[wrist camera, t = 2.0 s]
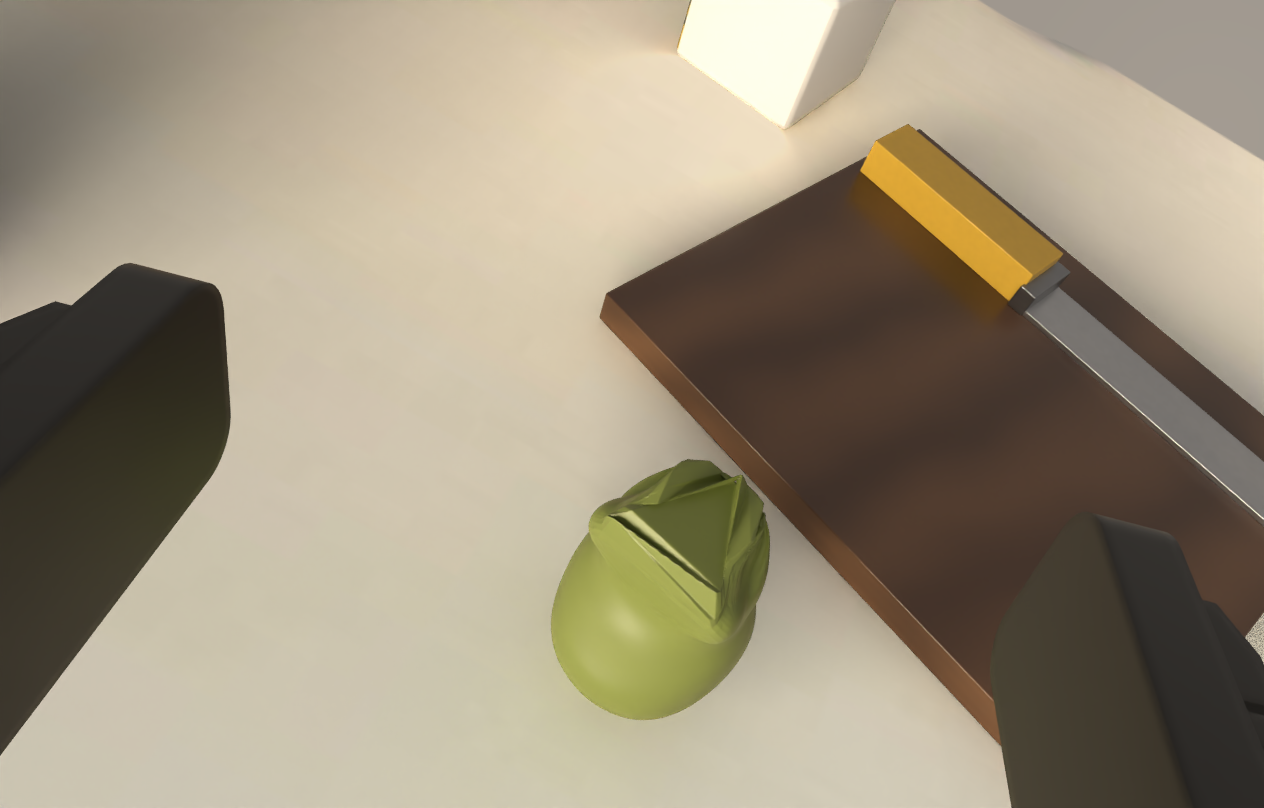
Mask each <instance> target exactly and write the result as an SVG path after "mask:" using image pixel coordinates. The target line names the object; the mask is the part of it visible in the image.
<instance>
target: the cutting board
mask: <svg viewBox="0 0 1264 808" xmlns="http://www.w3.org/2000/svg"><path fill="white" fill-rule="evenodd" d="M917 132H919V133H920V134H921V135H922V136H923V137H924V138H926V139H927V140H928V141H929V142H930V143H932V144H933V145H934V146H935V147H936V148H938V149H939V150H940V151H941V152H942V153H944V154H945V155H946V156H947V157H948V158H950V159H951V160H952V161H953V162H954V163H956V164H957V165H958V166H959V167H960V168H962V169H963V170H964V171H965V172H966V173H968V174H969V175H970V176H971V177H972V178H974V179H975V180H976V181H977V182H978V183H980V184H981V185H982V186H983V187H984V188H986V189H987V190H988V191H989V192H990V193H991V194H993V195H994V196H995V197H996V198H997V199H999V200H1000V201H1001V202H1002V203H1003V204H1005V205H1006V206H1007V207H1008V208H1009V209H1011V210H1012V211H1013V212H1014V213H1015V214H1017V215H1018V216H1019V217H1020V218H1021V219H1023V220H1024V221H1025V222H1026V223H1027V224H1029V225H1030V226H1031V227H1032V228H1033V229H1035V230H1036V231H1037V232H1038V233H1039V234H1041V235H1042V236H1043V237H1044V238H1045V239H1047V240H1048V241H1049V242H1050V243H1051V244H1053V245H1054V246H1055V247H1056V248H1057V249H1058V250H1060V251H1061V252H1062V253H1063V255H1062V256H1061V258H1060V259H1059V260H1058V262H1059V263H1060V264H1062V265H1063V266H1064V267H1065V268H1066V269H1068V270H1069V271H1070V274H1069V275H1068V277H1067V278H1066V279H1065V280H1064V281H1063V282H1062V284H1061V285H1060V286H1059V288H1060V289H1061V290H1063V291H1064V292H1065V293H1066V294H1067V295H1068V296H1070V297H1071V298H1072V299H1073V300H1074V301H1075V302H1077V303H1078V304H1079V305H1080V306H1081V307H1082V308H1084V309H1085V310H1086V311H1087V312H1088V313H1090V314H1091V315H1092V316H1093V317H1094V318H1095V319H1097V320H1098V321H1099V322H1100V323H1101V324H1102V325H1104V326H1105V327H1106V328H1107V329H1108V330H1109V331H1111V332H1112V333H1113V334H1114V335H1115V336H1117V337H1118V338H1119V339H1120V340H1121V341H1122V342H1124V343H1125V344H1126V345H1127V346H1128V347H1129V348H1131V349H1132V350H1133V351H1134V352H1135V353H1137V354H1138V355H1139V356H1140V357H1141V358H1142V359H1144V360H1145V361H1146V362H1147V363H1148V364H1149V365H1151V366H1152V367H1153V368H1154V369H1155V370H1156V371H1158V372H1159V373H1160V374H1161V375H1162V376H1164V377H1165V378H1166V379H1167V380H1168V381H1169V382H1171V383H1172V384H1173V385H1174V386H1175V387H1176V388H1178V389H1179V390H1180V391H1181V392H1182V393H1183V394H1185V395H1186V396H1187V397H1188V398H1189V399H1191V400H1192V401H1193V402H1194V403H1195V404H1196V405H1198V406H1199V407H1200V408H1201V409H1202V410H1203V411H1205V412H1206V413H1207V414H1208V415H1209V416H1210V417H1212V418H1213V419H1214V420H1215V421H1216V422H1218V423H1219V424H1220V425H1221V426H1222V427H1223V428H1225V429H1226V430H1227V431H1228V432H1229V433H1230V434H1232V435H1233V436H1234V437H1235V438H1236V439H1238V440H1239V441H1240V442H1241V443H1242V444H1243V445H1245V446H1246V447H1247V448H1248V449H1249V450H1250V451H1252V452H1253V453H1254V454H1255V455H1256V456H1257V457H1259V458H1260V459H1261V460H1262V461H1263V462H1264V416H1263V415H1262V414H1261V413H1260V412H1258V411H1257V410H1256V409H1255V408H1254V407H1252V406H1251V405H1250V404H1249V403H1248V402H1246V401H1245V400H1244V399H1243V398H1242V397H1241V396H1239V395H1238V394H1237V393H1236V392H1235V391H1233V390H1232V389H1231V388H1230V387H1229V386H1227V385H1226V384H1225V383H1224V382H1223V381H1221V380H1220V379H1219V378H1218V377H1217V376H1215V375H1214V374H1213V373H1212V372H1211V371H1209V370H1208V369H1207V368H1206V367H1205V366H1203V365H1202V364H1201V363H1200V362H1199V361H1197V360H1196V359H1195V358H1194V357H1193V356H1191V355H1190V354H1189V353H1188V352H1187V351H1185V350H1184V349H1183V348H1182V347H1181V346H1179V345H1178V344H1177V343H1176V342H1175V341H1173V340H1172V339H1171V338H1170V337H1169V336H1167V335H1166V334H1165V333H1164V332H1163V331H1161V330H1160V329H1159V328H1158V327H1157V326H1155V325H1154V324H1153V323H1152V322H1151V321H1149V320H1148V319H1147V318H1146V317H1145V316H1143V315H1142V314H1141V313H1140V312H1139V311H1137V310H1136V309H1135V308H1134V307H1133V306H1131V305H1130V304H1129V303H1128V302H1127V301H1125V300H1124V299H1123V298H1122V297H1121V296H1119V295H1118V294H1117V293H1116V292H1115V291H1113V290H1112V289H1111V288H1110V287H1109V286H1107V285H1106V284H1105V283H1104V282H1103V281H1101V280H1100V279H1099V278H1098V277H1097V276H1095V275H1094V274H1093V273H1092V272H1091V271H1089V270H1088V269H1087V268H1086V267H1085V266H1083V265H1082V264H1081V263H1080V262H1079V261H1077V260H1076V259H1075V258H1074V257H1073V256H1071V255H1070V254H1069V253H1068V252H1067V251H1065V250H1064V249H1063V248H1062V247H1061V246H1059V245H1058V244H1057V243H1056V242H1055V241H1053V240H1052V239H1051V238H1050V237H1049V236H1047V235H1046V234H1045V233H1044V232H1043V231H1041V230H1040V229H1039V228H1038V227H1037V226H1035V225H1034V224H1033V223H1032V222H1031V221H1029V220H1028V219H1027V218H1026V217H1025V216H1023V215H1022V214H1021V213H1020V212H1019V211H1017V210H1016V209H1015V208H1014V207H1013V206H1011V205H1010V204H1009V203H1008V202H1007V201H1005V200H1004V199H1003V198H1002V197H1001V196H999V195H998V194H997V193H996V192H995V191H993V190H992V189H991V188H990V187H989V186H987V185H986V184H985V183H984V182H983V181H981V180H980V179H979V178H978V177H977V176H975V175H974V174H973V173H972V172H971V171H969V170H968V169H967V168H966V167H965V166H963V165H962V164H961V163H960V162H959V161H957V160H956V159H955V158H954V157H953V156H951V155H950V154H949V153H948V152H947V151H945V150H944V149H943V148H942V147H941V146H939V145H938V144H937V143H936V142H935V141H933V140H932V139H931V138H930V137H929V136H928V135H926V134H925V133H924V132H923V131H922V130H920V129H919V130H917ZM866 158H867V157H865V158H863V159H861V160H859V161H858V162H856V163H854V164H852V165H850V166H848V167H846V168H844V169H842V170H840V171H839V172H837V173H835V174H833V175H831V176H829V177H827V178H825V179H823V180H821V181H819V182H818V183H816V184H814V185H812V186H810V187H808V188H806V189H804V190H802V191H800V192H798V193H797V194H795V195H793V196H791V197H789V198H787V199H785V200H783V201H781V202H779V203H778V204H776V205H774V206H772V207H770V208H768V209H766V210H764V211H762V212H760V213H758V214H757V215H755V216H753V217H751V218H749V219H747V220H745V221H743V222H741V223H739V224H737V225H736V226H734V227H732V228H730V229H728V230H726V231H724V232H722V233H720V234H718V235H716V236H715V237H713V238H711V239H709V240H707V241H705V242H703V243H701V244H699V245H697V246H696V247H694V248H692V249H690V250H688V251H686V252H684V253H682V254H680V255H678V256H676V257H675V258H673V259H671V260H669V261H667V262H665V263H663V264H661V265H659V266H657V267H655V268H654V269H652V270H650V271H648V272H646V273H644V274H642V275H640V276H638V277H636V278H634V279H633V280H631V281H629V282H627V283H625V284H623V285H621V286H619V287H617V288H615V289H614V290H612V291H610V292H608V293H607V294H606V296H605V300H604V303H603V307H602V310H601V314H600V318H601V319H602V321H603V322H604V323H605V324H606V325H607V326H608V327H609V328H610V329H611V330H612V331H613V332H614V333H615V334H616V335H617V337H618V338H619V339H620V340H621V341H622V342H623V343H624V344H625V345H626V346H627V347H628V348H629V349H630V350H631V351H632V353H633V354H634V355H635V356H636V357H637V358H638V359H639V360H640V361H641V362H642V363H643V364H644V365H645V366H646V368H647V369H648V370H649V371H650V372H651V373H652V374H653V375H654V376H655V377H656V378H657V379H658V380H659V381H660V382H661V384H662V385H663V386H664V387H665V388H666V389H667V390H668V391H669V392H670V393H671V394H672V395H673V396H674V397H675V398H676V400H677V401H678V402H679V403H680V404H681V405H682V406H683V407H684V408H685V409H686V410H687V411H688V412H689V413H690V415H691V416H692V417H693V418H694V419H695V420H696V421H697V422H698V423H699V424H700V425H701V426H702V427H703V428H704V429H705V431H706V432H707V433H708V434H709V435H710V436H711V437H712V438H713V439H714V440H715V441H716V442H717V443H718V444H719V445H720V447H721V448H722V449H723V450H724V451H725V452H726V453H727V454H728V455H729V456H730V457H731V458H732V459H733V460H734V461H735V463H736V464H737V465H738V466H739V467H740V468H741V469H742V470H743V471H744V472H745V473H746V474H747V475H748V476H749V478H750V479H751V480H752V481H753V482H754V483H755V484H756V485H757V486H758V487H759V488H760V489H761V490H762V491H763V492H764V494H765V495H766V496H767V497H768V498H769V499H770V500H771V501H772V502H773V503H774V504H775V505H776V506H777V507H778V508H779V510H780V511H781V512H782V513H783V514H784V515H785V516H786V517H787V518H788V519H789V520H790V521H791V522H792V523H793V525H794V526H795V527H796V528H797V529H798V530H799V531H800V532H801V533H802V534H803V535H804V536H805V537H806V538H807V539H808V541H809V542H810V543H811V544H812V545H813V546H814V547H815V548H816V549H817V550H818V551H819V552H820V553H821V554H822V555H823V557H824V558H825V559H826V560H827V561H828V562H829V563H830V564H831V565H832V566H833V567H834V568H835V569H836V570H837V571H838V573H839V574H840V575H841V576H842V577H843V578H844V579H845V580H846V581H847V582H848V583H849V584H850V585H851V586H852V588H853V589H854V590H855V591H856V592H857V593H858V594H859V595H860V596H861V597H862V598H863V599H864V600H865V601H866V602H867V604H868V605H869V606H870V607H871V608H872V609H873V610H874V611H875V612H876V613H877V614H878V615H879V616H880V617H881V618H882V620H883V621H884V622H885V623H886V624H887V625H888V626H889V627H890V628H891V629H892V630H893V631H894V632H895V633H896V635H897V636H898V637H899V638H900V639H901V640H902V641H903V642H904V643H905V644H906V645H907V646H908V647H909V648H910V649H911V651H912V652H913V653H914V654H915V655H916V656H917V657H918V658H919V659H920V660H921V661H922V662H923V663H924V664H925V665H926V667H927V668H928V669H929V670H930V671H931V672H932V673H933V674H934V675H935V676H936V677H937V678H938V679H939V680H940V681H941V683H942V684H943V685H944V686H945V687H946V688H947V689H948V690H949V691H950V692H951V693H952V694H953V695H954V696H955V698H956V699H957V700H958V701H959V702H960V703H961V704H962V705H963V706H964V707H965V708H966V709H967V710H968V711H969V712H970V714H971V715H972V716H973V717H974V718H975V719H976V720H977V721H978V722H979V723H980V724H981V725H982V726H983V727H984V728H985V730H986V731H987V732H988V733H989V734H990V735H991V736H992V737H993V738H994V739H995V740H996V741H997V742H998V743H999V745H1000V746H1001V741H1000V735H999V729H998V723H997V717H996V711H995V705H994V699H993V693H992V687H991V679H990V662H991V653H992V648H993V643H994V639H995V635H996V632H997V630H998V627H999V625H1000V622H1001V620H1002V618H1003V617H1004V615H1005V613H1006V612H1007V610H1008V609H1009V607H1010V606H1011V604H1012V603H1013V601H1014V600H1015V598H1016V597H1017V595H1018V594H1019V592H1020V591H1021V589H1022V588H1023V586H1024V585H1025V583H1026V582H1027V580H1028V579H1029V577H1030V576H1031V574H1032V573H1033V571H1034V570H1035V568H1036V567H1037V565H1038V564H1039V562H1040V561H1041V559H1042V558H1043V556H1044V555H1045V554H1046V552H1047V551H1048V549H1049V548H1050V546H1051V545H1052V543H1053V542H1054V540H1055V539H1056V537H1057V536H1058V534H1059V533H1060V531H1061V530H1062V528H1063V527H1064V526H1065V524H1066V523H1067V522H1068V521H1069V520H1070V519H1071V518H1072V517H1073V516H1075V515H1076V514H1078V513H1081V512H1090V513H1094V514H1098V515H1102V516H1106V517H1109V518H1113V519H1117V520H1121V521H1125V522H1129V523H1133V524H1137V525H1141V526H1144V527H1148V528H1152V529H1156V530H1160V531H1164V532H1167V533H1169V534H1171V535H1172V536H1173V537H1174V538H1175V539H1176V540H1177V541H1178V543H1179V545H1180V547H1181V549H1182V552H1183V554H1184V556H1185V559H1186V561H1187V564H1188V566H1189V569H1190V571H1191V574H1192V576H1193V578H1194V581H1195V583H1196V586H1197V588H1198V591H1199V593H1200V596H1201V598H1202V600H1205V601H1209V602H1213V603H1216V604H1217V605H1218V606H1219V607H1220V608H1221V610H1222V611H1223V612H1224V613H1225V614H1226V616H1227V617H1228V618H1229V619H1230V620H1231V622H1232V623H1233V624H1234V625H1235V626H1236V628H1237V629H1238V630H1239V631H1240V632H1241V634H1242V635H1243V636H1244V637H1245V636H1246V635H1247V634H1248V633H1249V631H1250V630H1251V629H1252V627H1253V626H1254V625H1255V623H1256V622H1257V621H1258V619H1259V618H1260V617H1261V615H1262V614H1263V613H1264V527H1263V526H1262V525H1261V524H1260V523H1259V522H1258V521H1257V520H1255V519H1254V518H1253V517H1252V516H1251V515H1250V514H1249V513H1247V512H1246V511H1245V510H1244V509H1243V508H1242V507H1241V506H1239V505H1238V504H1237V503H1236V502H1235V501H1234V500H1233V499H1232V498H1230V497H1229V496H1228V495H1227V494H1226V493H1225V492H1224V491H1222V490H1221V489H1220V488H1219V487H1218V486H1217V485H1216V484H1214V483H1213V482H1212V481H1211V480H1210V479H1209V478H1208V477H1206V476H1205V475H1204V474H1203V473H1202V472H1201V471H1200V470H1198V469H1197V468H1196V467H1195V466H1194V465H1193V464H1192V463H1190V462H1189V461H1188V460H1187V459H1186V458H1185V457H1184V456H1182V455H1181V454H1180V453H1179V452H1178V451H1177V450H1176V449H1174V448H1173V447H1172V446H1171V445H1170V444H1169V443H1168V442H1166V441H1165V440H1164V439H1163V438H1162V437H1161V436H1160V435H1158V434H1157V433H1156V432H1155V431H1154V430H1153V429H1152V428H1150V427H1149V426H1148V425H1147V424H1146V423H1145V422H1144V421H1142V420H1141V419H1140V418H1139V417H1138V416H1137V415H1136V414H1135V413H1133V412H1132V411H1131V410H1130V409H1129V408H1128V407H1127V406H1125V405H1124V404H1123V403H1122V402H1121V401H1120V400H1119V399H1117V398H1116V397H1115V396H1114V395H1113V394H1112V393H1111V392H1109V391H1108V390H1107V389H1106V388H1105V387H1104V386H1103V385H1101V384H1100V383H1099V382H1098V381H1097V380H1096V379H1095V378H1093V377H1092V376H1091V375H1090V374H1089V373H1088V372H1087V371H1085V370H1084V369H1083V368H1082V367H1081V366H1080V365H1079V364H1077V363H1076V362H1075V361H1074V360H1073V359H1072V358H1071V357H1069V356H1068V355H1067V354H1066V353H1065V352H1064V351H1063V350H1061V349H1060V348H1059V347H1058V346H1057V345H1056V344H1055V343H1053V342H1052V341H1051V340H1050V339H1049V338H1048V337H1047V336H1046V335H1044V334H1043V333H1042V332H1041V331H1040V330H1039V329H1038V328H1036V327H1035V326H1034V325H1033V324H1032V323H1031V322H1030V321H1028V320H1027V319H1026V318H1025V317H1024V316H1023V315H1020V314H1018V313H1017V312H1016V311H1015V310H1014V309H1013V308H1012V307H1010V306H1009V305H1008V302H1009V301H1008V300H1007V299H1006V298H1005V297H1004V296H1003V295H1001V294H1000V293H999V292H998V291H997V290H996V289H995V288H993V287H992V286H991V285H990V284H989V283H988V282H987V281H985V280H984V279H983V278H982V277H981V276H980V275H979V274H977V273H976V272H975V271H974V270H973V269H972V268H971V267H969V266H968V265H967V264H966V263H965V262H964V261H963V260H961V259H960V258H959V257H958V256H957V255H956V254H955V253H953V252H952V251H951V250H950V249H949V248H948V247H947V246H945V245H944V244H943V243H942V242H941V241H940V240H939V239H937V238H936V237H935V236H934V235H933V234H932V233H931V232H929V231H928V230H927V229H926V228H925V227H924V226H923V225H921V224H920V223H919V222H918V221H917V220H916V219H915V218H913V217H912V216H911V215H910V214H909V213H908V212H907V211H905V210H904V209H903V208H902V207H901V206H900V205H899V204H897V203H896V202H895V201H894V200H893V199H892V198H891V197H889V196H888V195H887V194H886V193H885V192H884V191H883V190H881V189H880V188H879V187H878V186H877V185H876V184H875V183H873V182H872V181H871V180H870V179H869V178H868V177H867V176H865V175H864V174H863V173H862V172H861V171H860V170H861V168H862V166H863V164H864V162H865V160H866Z"/></svg>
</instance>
